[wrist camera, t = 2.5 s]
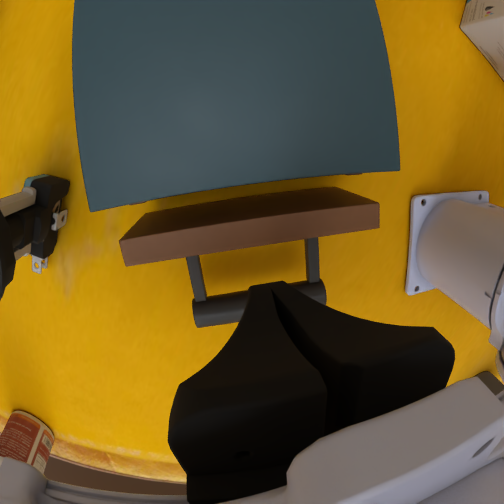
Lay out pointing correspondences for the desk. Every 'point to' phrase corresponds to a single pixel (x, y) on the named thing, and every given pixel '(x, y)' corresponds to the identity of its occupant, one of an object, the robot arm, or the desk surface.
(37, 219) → the push button
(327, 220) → the drawer
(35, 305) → the desk surface
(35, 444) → the pill bottle
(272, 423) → the robot arm
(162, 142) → the cabinet
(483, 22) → the ink box
